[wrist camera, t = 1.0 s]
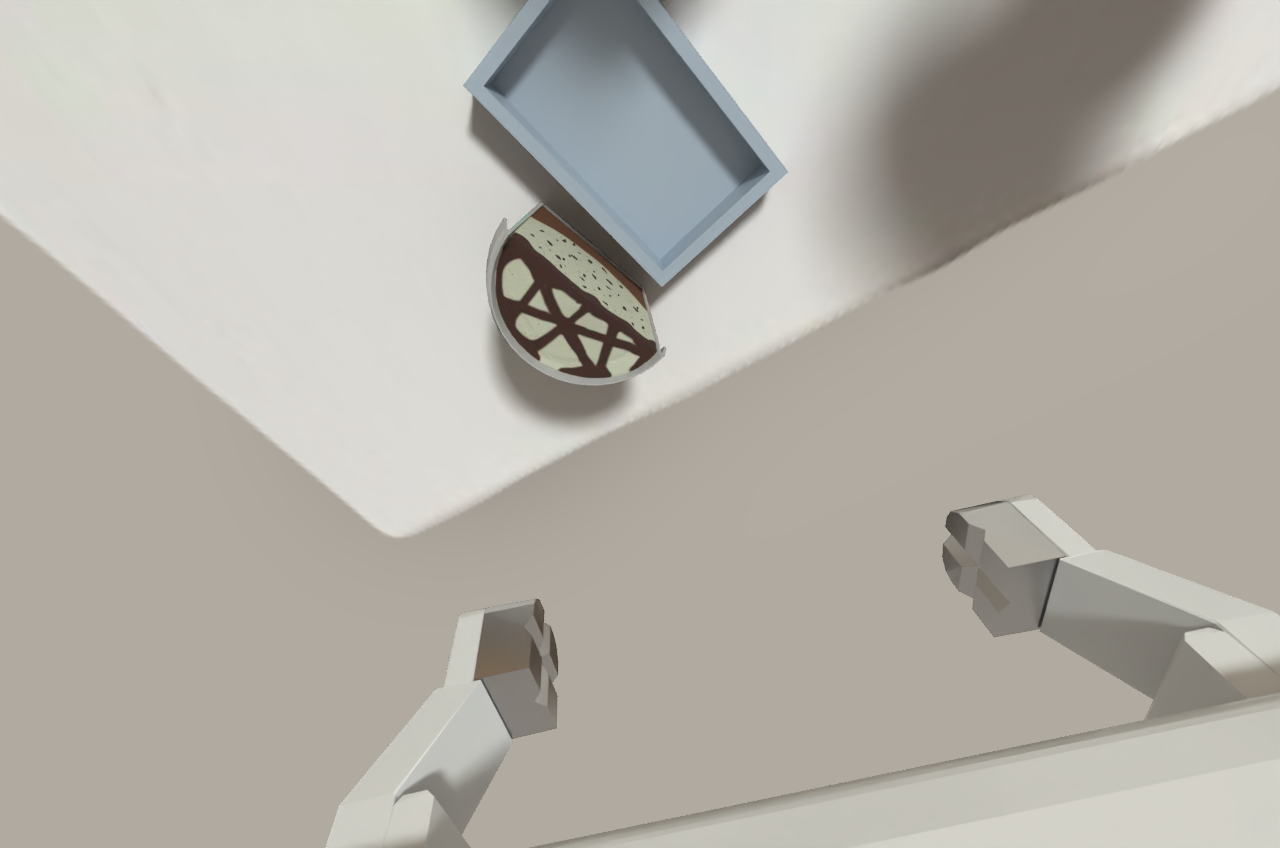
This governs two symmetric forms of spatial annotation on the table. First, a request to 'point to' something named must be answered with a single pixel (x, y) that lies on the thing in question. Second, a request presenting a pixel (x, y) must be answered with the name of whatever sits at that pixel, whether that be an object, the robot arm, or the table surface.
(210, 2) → the table surface
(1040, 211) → the table surface
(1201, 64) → the table surface
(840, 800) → the robot arm
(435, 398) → the table surface
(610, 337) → the food container
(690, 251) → the holder tray
